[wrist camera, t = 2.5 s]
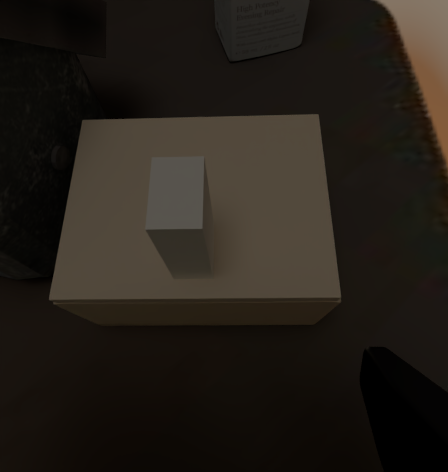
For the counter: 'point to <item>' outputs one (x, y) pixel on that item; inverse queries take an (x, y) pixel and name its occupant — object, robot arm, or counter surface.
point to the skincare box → (259, 26)
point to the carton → (202, 313)
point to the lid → (198, 212)
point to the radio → (42, 122)
